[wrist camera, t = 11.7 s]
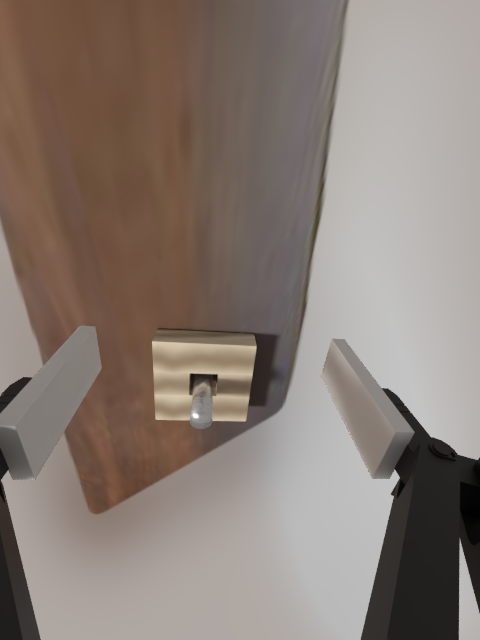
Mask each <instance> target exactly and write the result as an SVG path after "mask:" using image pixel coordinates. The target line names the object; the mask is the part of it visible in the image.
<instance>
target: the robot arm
mask: <svg viewBox="0 0 480 640" xmlns="http://www.w3.org/2000/svg"><path fill="white" fill-rule="evenodd" d="M101 369H102V367H101V361H100V354H99V348H98V341H97V335H96V328H95V326H79V327H78V328H77V330H76V331H75V332H74V333H73V334H72V335H71V336H70V337H69V338H68V339H67V341H66V342H65V343H64V344H63V345H62V346H61V347H60V348H59V349H58V351H57V352H56V353H55V354H54V355H53V356H52V357H51V358H50V359H49V360H48V362H47V363H46V364H45V365H44V366H43V367H42V368H41V369H40V370H39V371H38V373H37V374H36V375H35V376H34V377H33V378H28V377H23V378H21V379H20V380H18V381H16V382H15V383H13V384H11V385H10V386H9V387H8V388H7V389H6V390H5V391H4V392H3V393H2V394H1V396H0V640H41V639H40V635H39V631H38V627H37V623H36V619H35V615H34V611H33V606H32V602H31V598H30V594H29V590H28V586H27V582H26V578H25V573H24V569H23V565H22V561H21V557H20V553H19V549H18V545H17V541H16V537H15V533H14V528H13V524H12V520H11V516H10V512H9V508H8V504H7V500H6V496H5V491H4V487H3V484H2V482H1V479H2V478H3V476H4V475H5V473H6V472H7V471H8V470H9V473H10V475H11V477H12V479H13V480H35V479H36V477H37V476H38V474H39V472H40V471H41V469H42V467H43V466H44V464H45V462H46V460H47V459H48V457H49V456H50V454H51V452H52V450H53V449H54V447H55V446H56V444H57V442H58V441H59V439H60V437H61V436H62V434H63V432H64V431H65V429H66V427H67V426H68V424H69V422H70V421H71V419H72V417H73V415H74V414H75V412H76V410H77V409H78V407H79V405H80V404H81V402H82V400H83V399H84V397H85V395H86V394H87V392H88V390H89V389H90V387H91V385H92V384H93V382H94V380H95V379H96V377H97V375H98V374H99V372H100V370H101ZM321 378H322V380H323V381H324V383H325V385H326V388H327V389H328V391H329V393H330V395H331V397H332V399H333V401H334V403H335V405H336V407H337V409H338V411H339V413H340V415H341V417H342V419H343V421H344V423H345V425H346V427H347V429H348V431H349V433H350V435H351V437H352V439H353V441H354V443H355V445H356V447H357V449H358V451H359V453H360V455H361V457H362V459H363V461H364V463H365V465H366V467H367V469H368V471H369V473H370V475H371V477H372V478H373V479H378V478H379V479H383V478H384V479H389V478H390V477H391V475H392V473H393V471H394V469H395V470H396V472H397V473H398V475H399V476H400V479H399V481H398V482H397V484H396V486H395V488H394V489H393V491H392V493H391V495H393V496H394V499H393V503H392V508H391V512H390V516H389V520H388V525H387V529H386V534H385V537H384V542H383V546H382V550H381V555H380V559H379V563H378V568H377V572H376V576H375V580H374V585H373V589H372V593H371V598H370V602H369V607H368V611H367V615H366V620H365V624H364V628H363V632H362V636H361V640H459V538H460V540H461V544H462V547H463V552H464V555H465V559H466V563H467V567H468V570H469V574H470V578H471V582H472V586H473V589H474V593H475V597H476V601H477V604H478V608H479V612H480V458H479V459H478V460H475V459H471V458H467V457H464V456H460V455H457V453H456V452H455V450H454V449H452V448H451V447H450V446H449V445H448V444H446V443H444V442H443V441H441V440H438V439H436V438H431V437H430V436H429V434H428V433H427V432H426V431H425V429H424V428H423V427H422V426H421V424H420V423H419V422H418V421H417V419H416V418H415V417H414V416H413V415H412V413H410V411H409V410H408V408H407V407H406V406H404V403H403V402H402V401H401V400H400V398H399V397H398V396H397V395H396V394H394V393H393V392H391V391H390V390H389V389H384V388H381V387H380V386H379V384H378V383H377V382H376V380H375V379H374V378H373V377H372V375H371V374H370V373H369V371H368V370H367V369H366V367H365V366H364V365H363V363H362V362H361V361H360V359H359V358H358V357H357V356H356V354H355V353H354V351H353V350H352V349H351V347H350V346H349V345H348V343H347V342H346V341H345V340H344V339H332V340H331V344H330V347H329V351H328V354H327V357H326V361H325V364H324V368H323V371H322V375H321Z"/></svg>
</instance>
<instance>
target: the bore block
mask: <svg viewBox="0 0 480 640" xmlns="http://www.w3.org/2000/svg"><path fill="white" fill-rule="evenodd" d="M152 347H153V370H154V392H155V415H156V420H190V413H191V404H192V395H193V387H194V378H195V374H213V413H212V421H246V417H247V410H248V403H249V396H250V389H251V383H252V376H253V369H254V362H255V355H256V348H257V345H256V341H255V337H254V334H247V333H228V332H209V331H190V330H170V329H157V331H156V333H155V336H154V338H153V341H152Z"/></svg>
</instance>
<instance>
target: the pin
mask: <svg viewBox="0 0 480 640" xmlns="http://www.w3.org/2000/svg"><path fill="white" fill-rule="evenodd" d="M212 413H213V374H195V378H194V387H193V395H192V404H191V413H190V424H191V425H192V426H193V427H195V428H199V429H203V428H207V427H208V426H210V425H211V423H212Z"/></svg>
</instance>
